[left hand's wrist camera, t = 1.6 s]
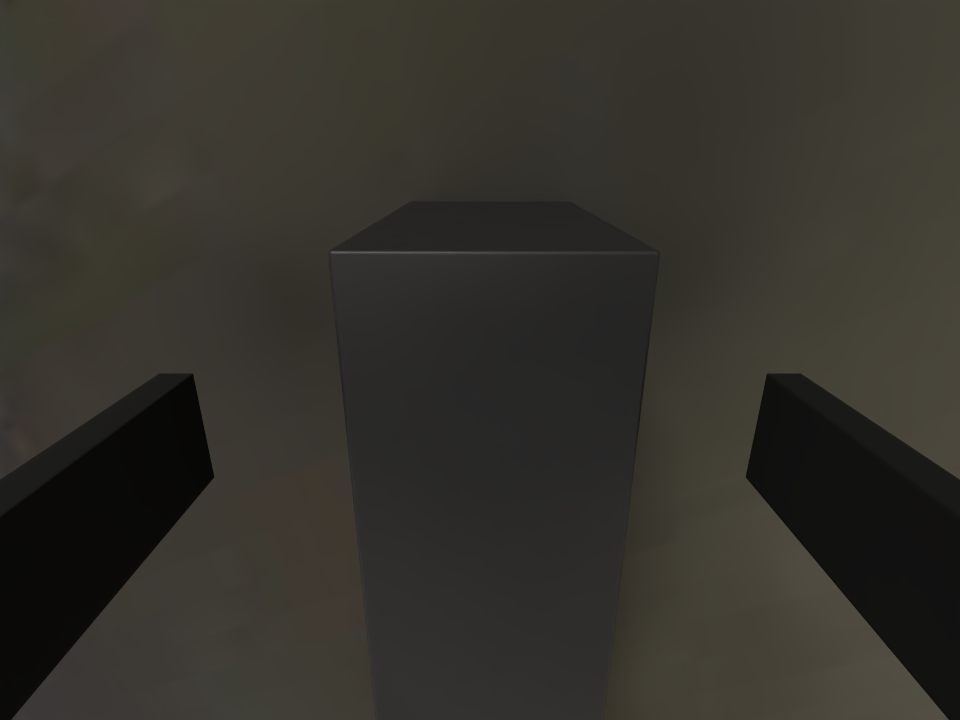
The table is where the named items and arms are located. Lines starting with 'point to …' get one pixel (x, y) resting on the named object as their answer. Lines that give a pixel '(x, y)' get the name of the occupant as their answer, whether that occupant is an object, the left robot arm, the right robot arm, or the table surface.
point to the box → (492, 450)
